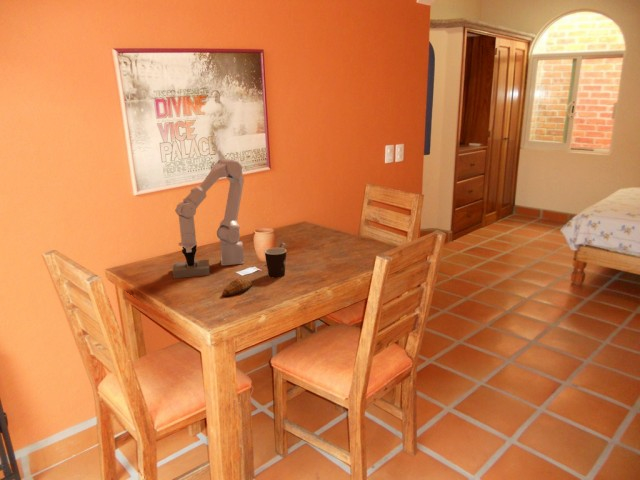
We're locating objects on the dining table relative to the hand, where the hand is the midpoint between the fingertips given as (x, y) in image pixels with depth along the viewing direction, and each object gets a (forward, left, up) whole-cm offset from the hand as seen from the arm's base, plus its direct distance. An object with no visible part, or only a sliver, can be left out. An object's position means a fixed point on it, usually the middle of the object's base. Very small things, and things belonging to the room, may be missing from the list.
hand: (191, 264), depth 196 cm
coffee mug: (-34, +12, -4) cm, 36 cm away
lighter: (-36, -3, -4) cm, 36 cm away
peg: (0, 0, -2) cm, 2 cm away
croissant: (-17, +26, -4) cm, 31 cm away
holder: (0, 0, -3) cm, 3 cm away
